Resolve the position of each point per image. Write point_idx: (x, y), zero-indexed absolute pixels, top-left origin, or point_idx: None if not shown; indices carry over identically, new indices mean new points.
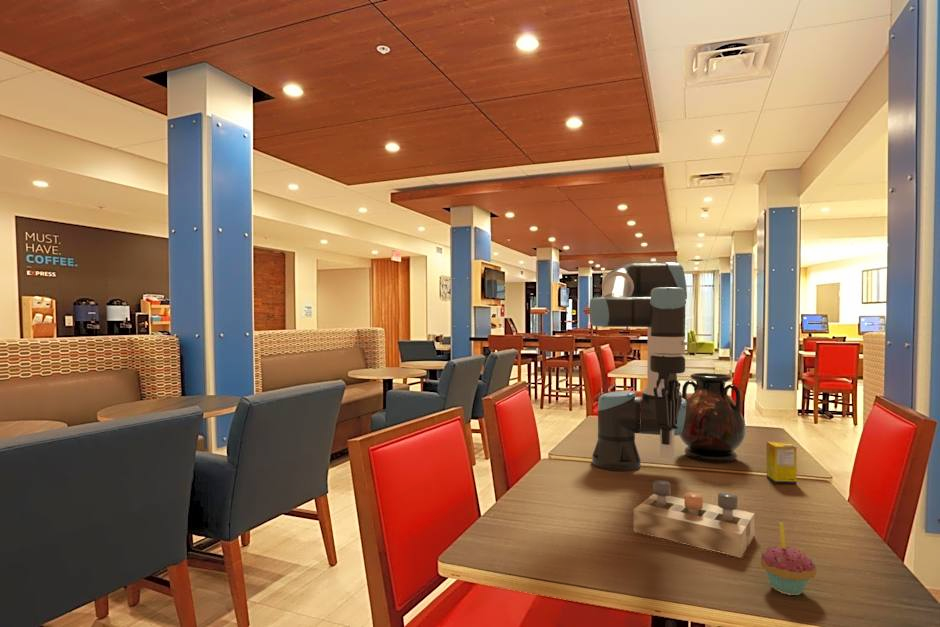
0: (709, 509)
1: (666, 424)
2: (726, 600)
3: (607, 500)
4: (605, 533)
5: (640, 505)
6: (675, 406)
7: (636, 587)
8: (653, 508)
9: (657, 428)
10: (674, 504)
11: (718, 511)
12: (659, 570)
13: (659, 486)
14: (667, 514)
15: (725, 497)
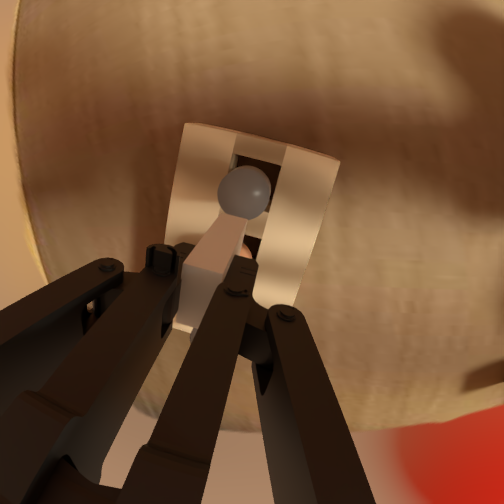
0: (261, 285)
1: (85, 316)
2: (57, 267)
3: (376, 50)
4: (169, 75)
5: (220, 133)
6: (266, 445)
7: (32, 171)
8: (212, 166)
9: (154, 250)
10: (264, 212)
11: (256, 300)
12: (77, 190)
13: (219, 189)
14: (186, 200)
15: (192, 335)
